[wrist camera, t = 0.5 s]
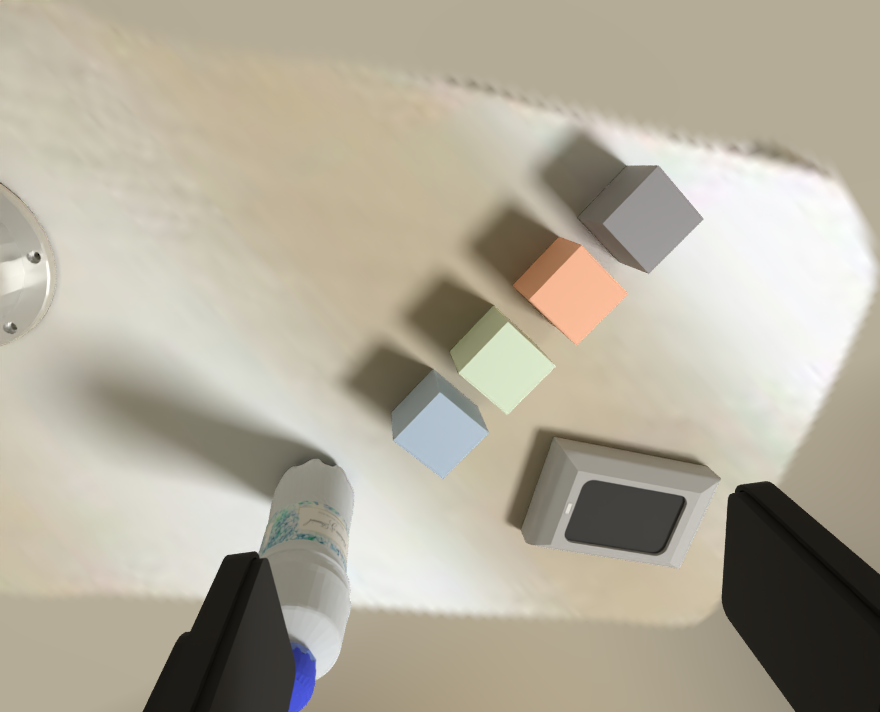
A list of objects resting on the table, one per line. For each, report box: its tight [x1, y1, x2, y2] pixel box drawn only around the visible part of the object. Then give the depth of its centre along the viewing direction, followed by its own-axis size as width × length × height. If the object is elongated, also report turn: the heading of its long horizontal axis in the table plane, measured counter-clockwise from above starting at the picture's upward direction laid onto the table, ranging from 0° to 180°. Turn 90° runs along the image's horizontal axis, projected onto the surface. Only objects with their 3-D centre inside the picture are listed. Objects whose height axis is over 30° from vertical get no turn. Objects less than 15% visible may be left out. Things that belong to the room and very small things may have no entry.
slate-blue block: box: [391, 369, 489, 479], centre depth 43 cm, size 5×5×5 cm
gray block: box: [578, 166, 703, 274], centre depth 40 cm, size 5×5×5 cm
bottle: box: [258, 459, 354, 712], centre depth 37 cm, size 7×7×20 cm
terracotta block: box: [512, 237, 628, 345], centre depth 41 cm, size 5×5×5 cm
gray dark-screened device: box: [521, 437, 721, 569], centre depth 49 cm, size 10×4×15 cm
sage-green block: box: [450, 305, 556, 415], centre depth 42 cm, size 5×5×5 cm
